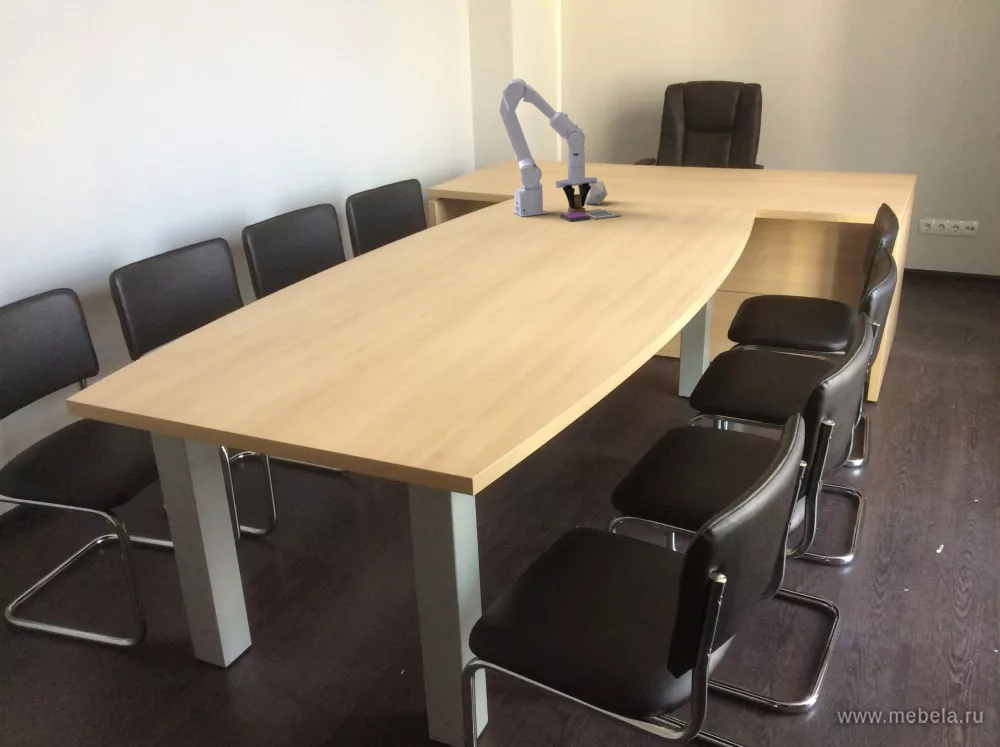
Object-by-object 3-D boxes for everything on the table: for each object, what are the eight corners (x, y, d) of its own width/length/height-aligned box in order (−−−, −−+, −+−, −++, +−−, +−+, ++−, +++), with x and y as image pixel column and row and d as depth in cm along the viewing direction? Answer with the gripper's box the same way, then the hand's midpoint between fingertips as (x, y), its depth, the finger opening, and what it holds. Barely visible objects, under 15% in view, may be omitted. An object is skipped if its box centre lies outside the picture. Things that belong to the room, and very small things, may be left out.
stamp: (573, 214, 285) (573, 196, 283) (568, 212, 289) (568, 194, 287) (585, 213, 287) (585, 195, 284) (579, 210, 291) (579, 193, 288)
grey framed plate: (595, 219, 276) (595, 216, 276) (581, 213, 286) (581, 210, 286) (620, 216, 279) (620, 213, 279) (605, 210, 289) (605, 207, 288)
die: (591, 209, 295) (608, 185, 292) (572, 195, 297) (589, 171, 295) (598, 213, 302) (615, 189, 300) (580, 199, 305) (596, 176, 303)
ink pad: (570, 221, 275) (570, 217, 275) (560, 217, 282) (560, 213, 282) (589, 219, 277) (589, 215, 277) (579, 214, 284) (579, 211, 284)
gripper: (561, 170, 276) (562, 211, 282) (601, 165, 281) (601, 206, 286) (552, 167, 282) (553, 207, 288) (591, 163, 287) (591, 202, 292)
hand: (576, 206), depth 287 cm, fingers closed on stamp, 3 cm apart
